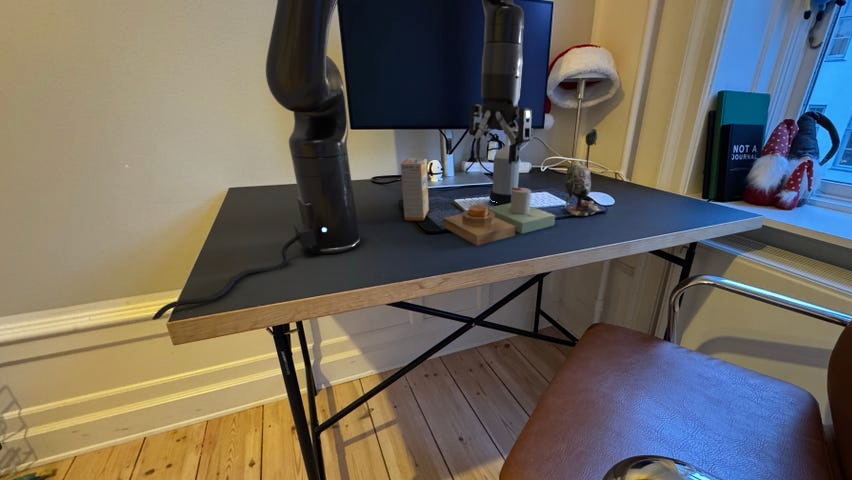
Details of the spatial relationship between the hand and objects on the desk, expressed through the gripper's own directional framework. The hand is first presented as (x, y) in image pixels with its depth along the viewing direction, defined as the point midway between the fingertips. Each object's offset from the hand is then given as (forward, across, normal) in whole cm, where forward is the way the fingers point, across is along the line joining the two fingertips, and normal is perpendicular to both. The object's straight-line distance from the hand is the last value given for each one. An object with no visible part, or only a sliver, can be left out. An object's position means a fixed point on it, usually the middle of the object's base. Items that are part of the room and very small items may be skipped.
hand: (496, 160), depth 76 cm
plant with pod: (+14, +8, +24) cm, 30 cm away
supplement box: (+15, -18, -7) cm, 25 cm away
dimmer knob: (+12, +2, +7) cm, 14 cm away
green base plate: (+14, +2, +7) cm, 16 cm away
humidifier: (+15, -11, +17) cm, 25 cm away
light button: (+11, -1, -4) cm, 12 cm away
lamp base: (+15, -1, -4) cm, 15 cm away
